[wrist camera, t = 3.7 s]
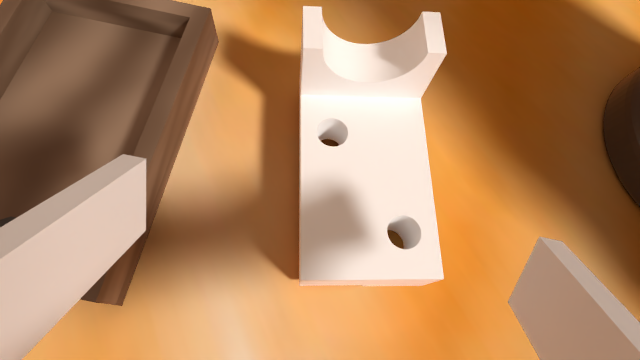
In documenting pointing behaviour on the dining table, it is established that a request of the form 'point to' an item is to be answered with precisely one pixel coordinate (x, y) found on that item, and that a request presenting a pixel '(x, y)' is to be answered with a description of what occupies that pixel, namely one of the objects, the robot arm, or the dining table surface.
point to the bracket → (366, 157)
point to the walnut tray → (96, 100)
